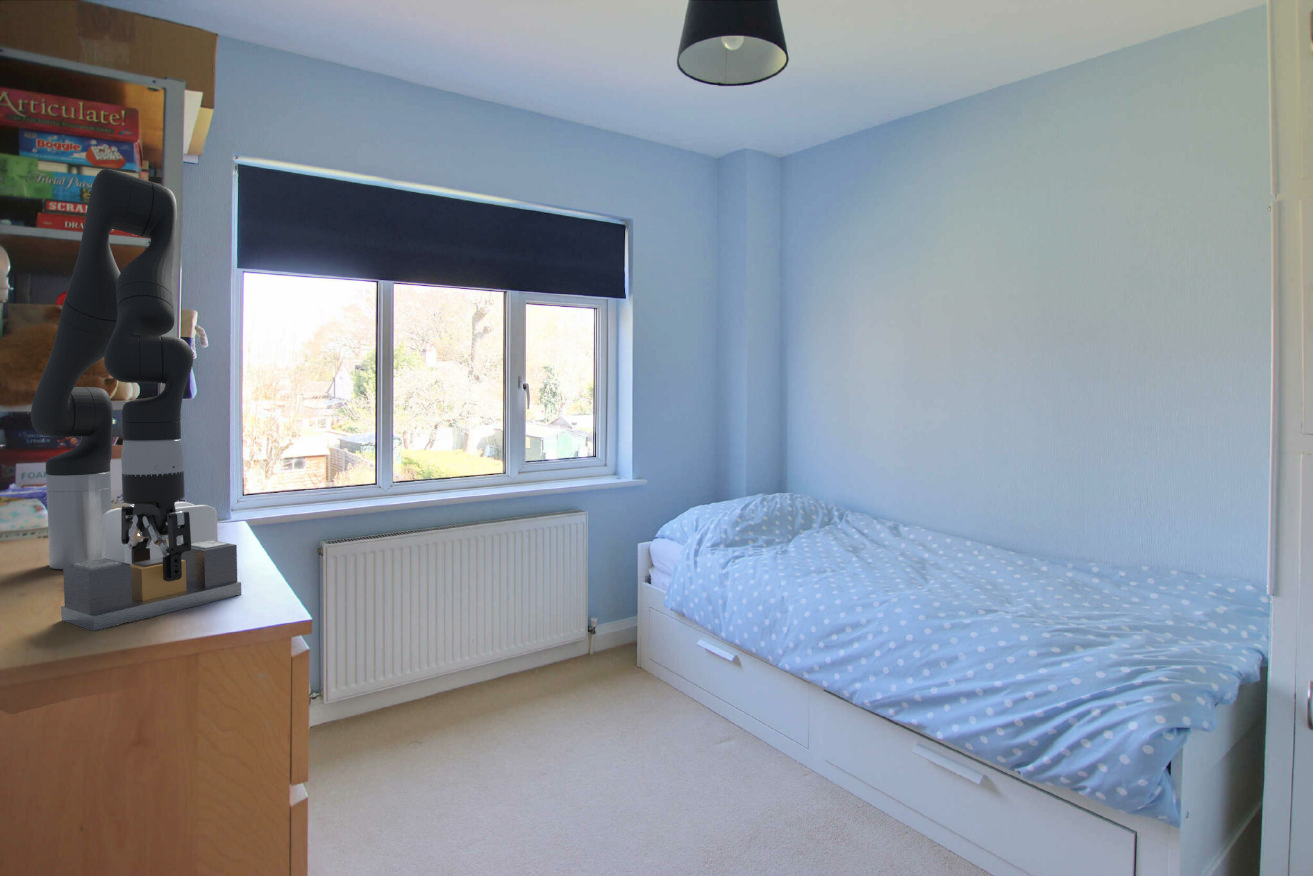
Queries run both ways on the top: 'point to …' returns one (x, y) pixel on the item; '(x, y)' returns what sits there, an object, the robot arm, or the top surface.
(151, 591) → the orange module
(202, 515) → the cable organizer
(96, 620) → the rail plate
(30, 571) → the top surface
